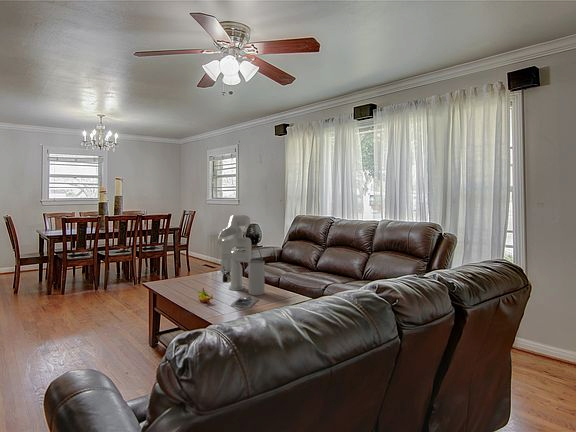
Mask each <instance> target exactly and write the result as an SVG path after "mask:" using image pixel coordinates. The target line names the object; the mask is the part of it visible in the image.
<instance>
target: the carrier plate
mask: <svg viewBox="0 0 576 432" xmlns="http://www.w3.org/2000/svg"><path fill="white" fill-rule="evenodd" d="M257 301H259V298H257V297H252V296H240V297H239V298H237V299H236V300H235V301H233V302H232V303H231V304H230V307H233V308H234V307H236V308H237V307H238V308H249V309H250V308H251V307H252V306H254V304H255V303H257Z"/></svg>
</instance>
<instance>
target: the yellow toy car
mask: <svg viewBox="0 0 576 432" xmlns="http://www.w3.org/2000/svg"><path fill="white" fill-rule="evenodd" d="M197 294H198V299H199V301H200V302H202V303H206V302H207V304H208V305H209V304H210V303H211V302H210V300H213V298H214V297H213V294H211V295H209V294H208V291H206V290H205V288H204V287H202V290H201V291H198V293H197Z"/></svg>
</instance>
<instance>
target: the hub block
mask: <svg viewBox="0 0 576 432" xmlns="http://www.w3.org/2000/svg"><path fill="white" fill-rule="evenodd" d="M221 277H222V280H221V281H222V284H223V283H224V284H230V283H231V274H230V275H227V282H223V275H222V276H221Z"/></svg>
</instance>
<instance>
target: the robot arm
mask: <svg viewBox="0 0 576 432" xmlns="http://www.w3.org/2000/svg"><path fill="white" fill-rule="evenodd" d="M227 222H228V223H227V226H226V228H224V229H223V230H222V231H220V232H219V234H218V237H217V242H216V245H217V246H218V248H220V249H221V250H220V252H221V254H220V258H221V262H220V273H221V274H222V276H223V282H227V275H231V282H230V285H229V286H228V290H231V291H241V290H244V289H245V286H243V283H244V282H243V265H242V264H241V263H249V261H252V260H251V259H252V240H251V238H250V237H243V236H244V232H243V230H242V228H241V227H249V226H250V224H251V218H250V216H249V215H247V214H246V215H245V214H233V215H231V216H230V217H229V219H228V221H227ZM231 236H232V237H231ZM233 249H234V250H233ZM235 249H236V250H235Z"/></svg>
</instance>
